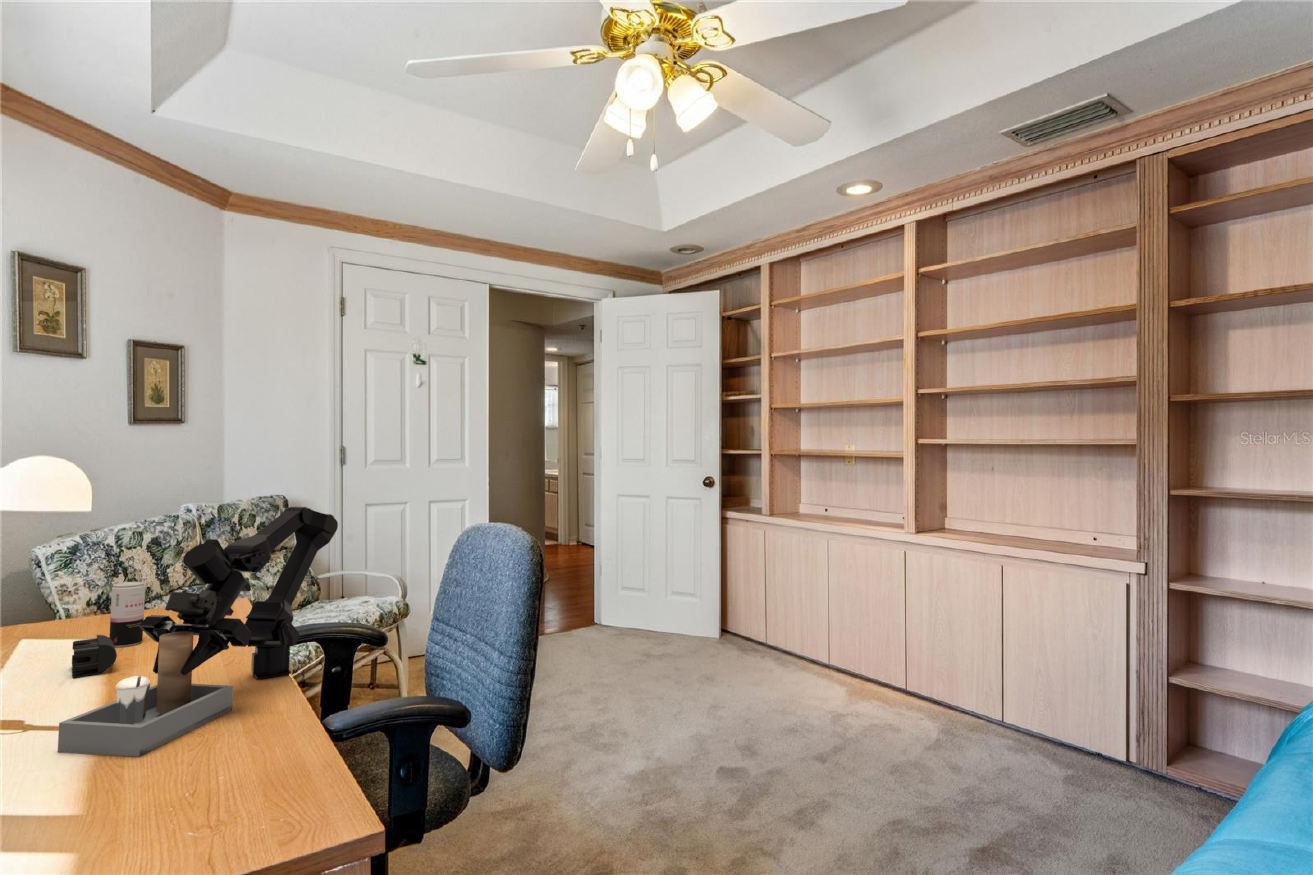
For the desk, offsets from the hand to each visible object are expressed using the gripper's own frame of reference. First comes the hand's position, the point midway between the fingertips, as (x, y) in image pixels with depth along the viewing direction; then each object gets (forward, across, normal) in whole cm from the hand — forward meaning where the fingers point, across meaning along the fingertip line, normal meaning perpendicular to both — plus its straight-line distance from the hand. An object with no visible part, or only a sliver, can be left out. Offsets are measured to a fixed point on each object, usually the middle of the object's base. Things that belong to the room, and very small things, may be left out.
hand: (169, 673), depth 118 cm
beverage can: (-25, -50, +38) cm, 67 cm away
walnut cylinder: (+4, 0, +6) cm, 7 cm away
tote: (+8, 0, +4) cm, 9 cm away
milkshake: (+11, 0, 0) cm, 11 cm away
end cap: (-11, -39, +24) cm, 47 cm away
